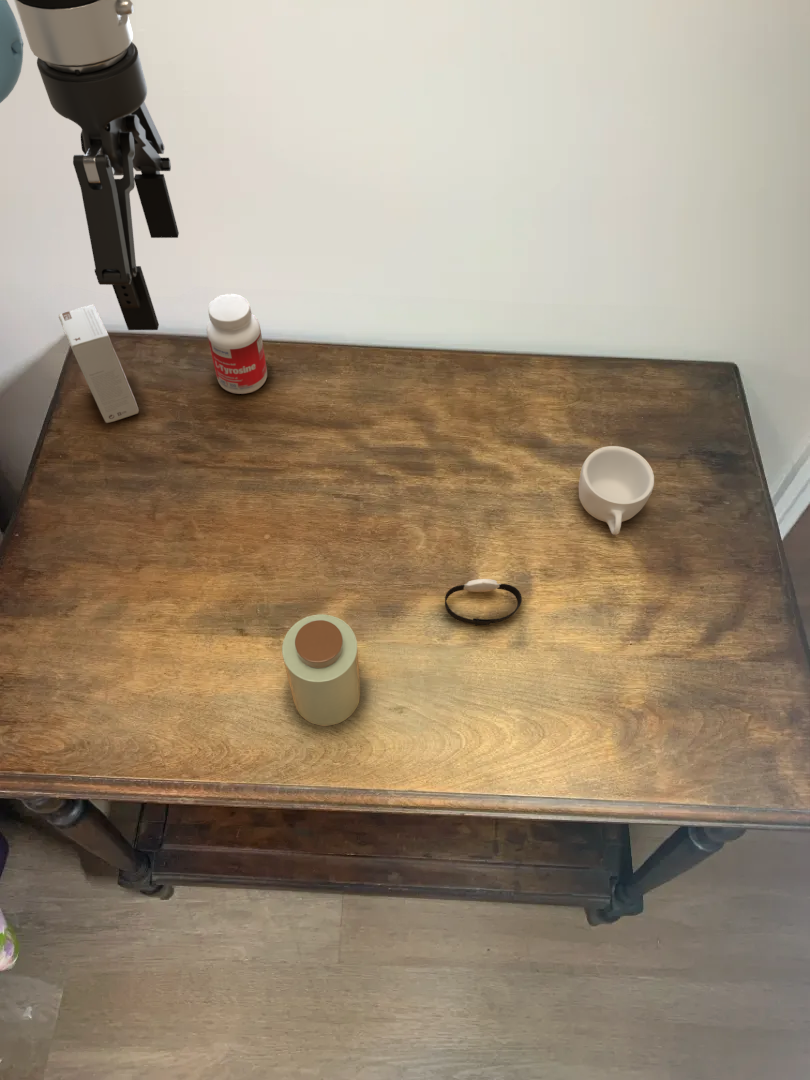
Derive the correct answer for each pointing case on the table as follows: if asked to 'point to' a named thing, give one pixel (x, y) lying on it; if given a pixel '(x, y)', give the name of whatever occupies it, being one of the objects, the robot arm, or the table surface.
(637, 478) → the teacup
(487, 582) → the watch
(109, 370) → the cosmetic box
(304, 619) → the canister
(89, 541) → the table surface
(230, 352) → the pill bottle
